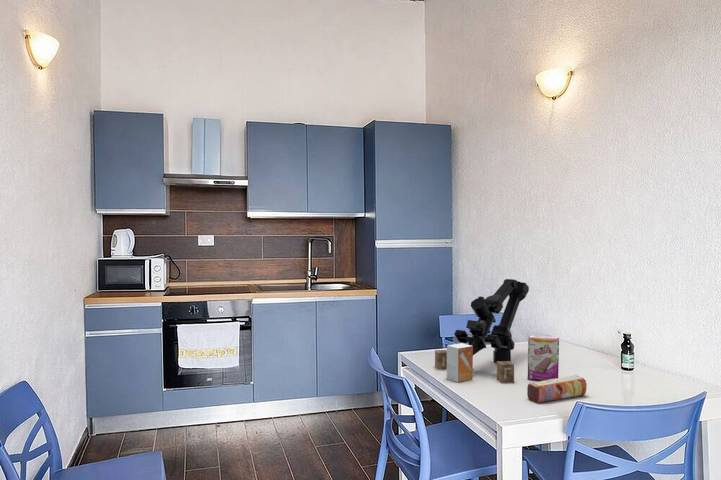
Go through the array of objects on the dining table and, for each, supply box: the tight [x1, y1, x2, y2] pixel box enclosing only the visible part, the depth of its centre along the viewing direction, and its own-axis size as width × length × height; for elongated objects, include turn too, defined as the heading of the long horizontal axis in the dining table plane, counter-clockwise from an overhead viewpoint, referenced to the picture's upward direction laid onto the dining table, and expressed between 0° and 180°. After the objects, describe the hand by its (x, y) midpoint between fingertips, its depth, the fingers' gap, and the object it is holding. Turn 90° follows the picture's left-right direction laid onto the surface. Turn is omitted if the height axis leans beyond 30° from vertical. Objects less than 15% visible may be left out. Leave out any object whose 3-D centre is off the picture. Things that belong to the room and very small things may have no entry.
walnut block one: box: [434, 349, 447, 371], centre depth 220 cm, size 5×5×7 cm
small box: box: [446, 342, 474, 383], centre depth 203 cm, size 8×6×13 cm
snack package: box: [526, 374, 588, 404], centre depth 181 cm, size 21×7×7 cm, turn 113°
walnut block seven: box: [496, 361, 515, 384], centre depth 201 cm, size 5×5×7 cm
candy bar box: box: [527, 334, 560, 382], centre depth 203 cm, size 11×5×16 cm, turn 71°
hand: (469, 356), depth 209 cm, fingers closed
